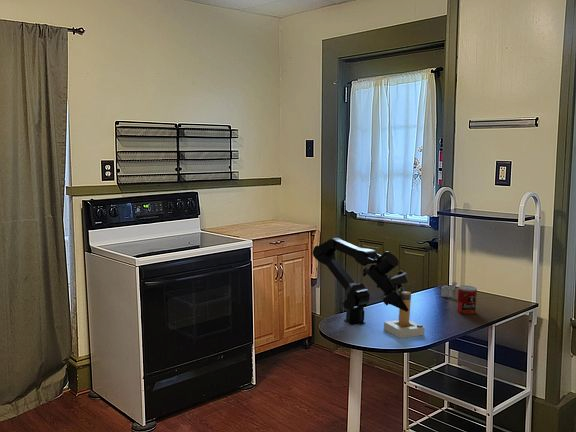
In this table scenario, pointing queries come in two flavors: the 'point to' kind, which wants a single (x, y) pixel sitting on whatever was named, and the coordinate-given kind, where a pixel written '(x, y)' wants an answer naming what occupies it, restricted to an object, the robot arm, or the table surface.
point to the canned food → (466, 299)
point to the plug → (403, 314)
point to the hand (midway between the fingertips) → (408, 309)
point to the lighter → (447, 290)
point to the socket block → (404, 329)
